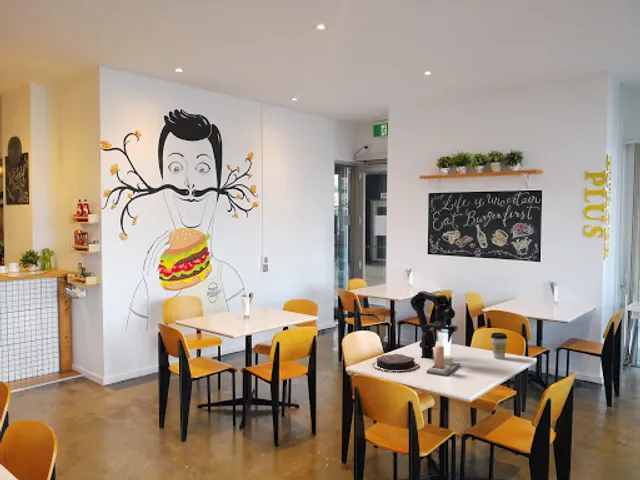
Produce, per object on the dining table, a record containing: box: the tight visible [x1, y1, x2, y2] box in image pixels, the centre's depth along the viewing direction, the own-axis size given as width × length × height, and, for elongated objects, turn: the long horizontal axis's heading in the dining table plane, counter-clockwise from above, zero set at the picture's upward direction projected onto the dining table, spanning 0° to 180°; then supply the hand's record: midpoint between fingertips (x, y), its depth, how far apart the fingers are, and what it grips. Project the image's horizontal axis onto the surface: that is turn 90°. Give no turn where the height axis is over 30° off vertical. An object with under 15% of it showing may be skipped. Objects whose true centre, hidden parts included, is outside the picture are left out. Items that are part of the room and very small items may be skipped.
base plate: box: [426, 355, 461, 377], centre depth 305 cm, size 12×23×6 cm, turn 148°
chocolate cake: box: [371, 353, 420, 373], centre depth 315 cm, size 28×28×7 cm
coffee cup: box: [490, 332, 508, 360], centre depth 326 cm, size 10×10×15 cm
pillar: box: [433, 345, 445, 369], centre depth 300 cm, size 5×5×13 cm
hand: (441, 341), depth 319 cm, fingers open, 9 cm apart
